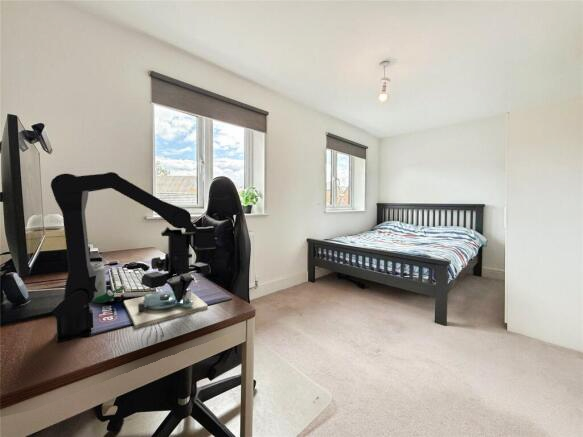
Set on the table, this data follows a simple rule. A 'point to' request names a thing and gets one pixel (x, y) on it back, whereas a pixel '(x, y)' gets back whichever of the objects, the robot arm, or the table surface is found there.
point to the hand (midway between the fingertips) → (178, 302)
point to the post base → (158, 311)
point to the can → (100, 267)
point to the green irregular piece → (108, 295)
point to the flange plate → (167, 300)
